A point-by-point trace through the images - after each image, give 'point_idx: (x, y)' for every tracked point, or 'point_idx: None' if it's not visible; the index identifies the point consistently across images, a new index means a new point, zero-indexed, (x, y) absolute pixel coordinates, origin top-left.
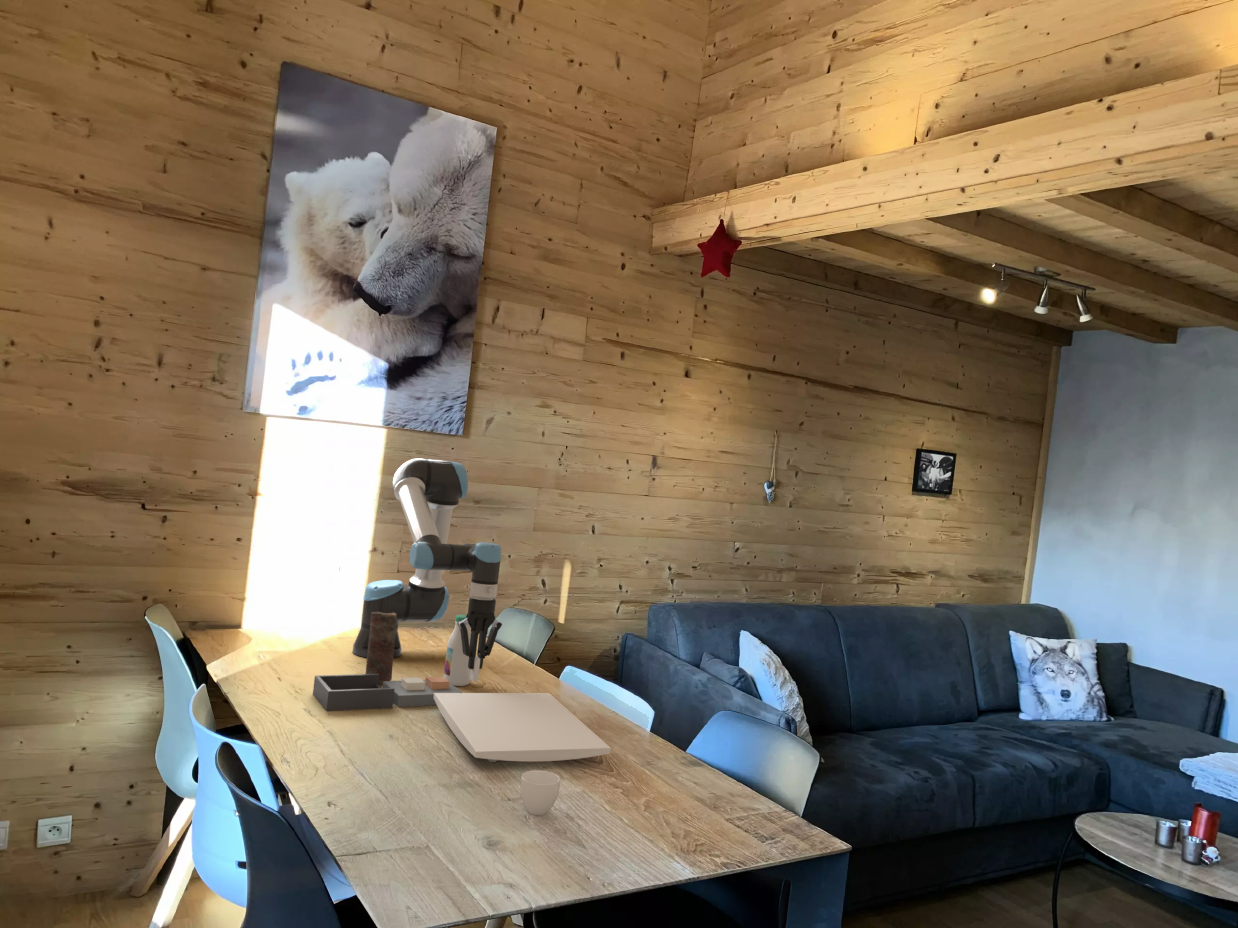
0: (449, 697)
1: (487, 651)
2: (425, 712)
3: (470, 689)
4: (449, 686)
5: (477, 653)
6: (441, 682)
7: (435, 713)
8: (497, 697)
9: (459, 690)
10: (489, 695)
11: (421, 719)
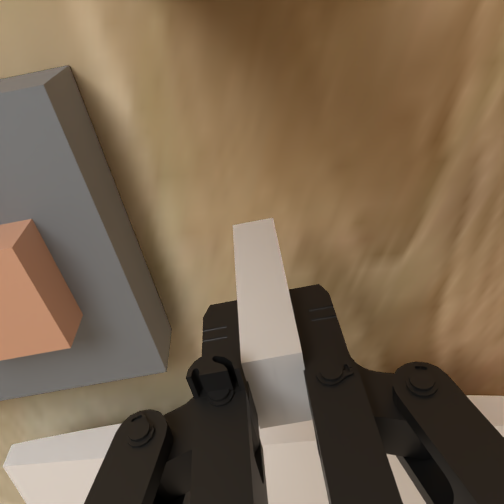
0: (84, 500)
1: (412, 473)
2: (8, 427)
3: (274, 53)
4: (87, 275)
5: (308, 391)
6: (19, 352)
7: (51, 432)
8: (305, 482)
9: (149, 340)
10: (276, 466)
11: (5, 478)
